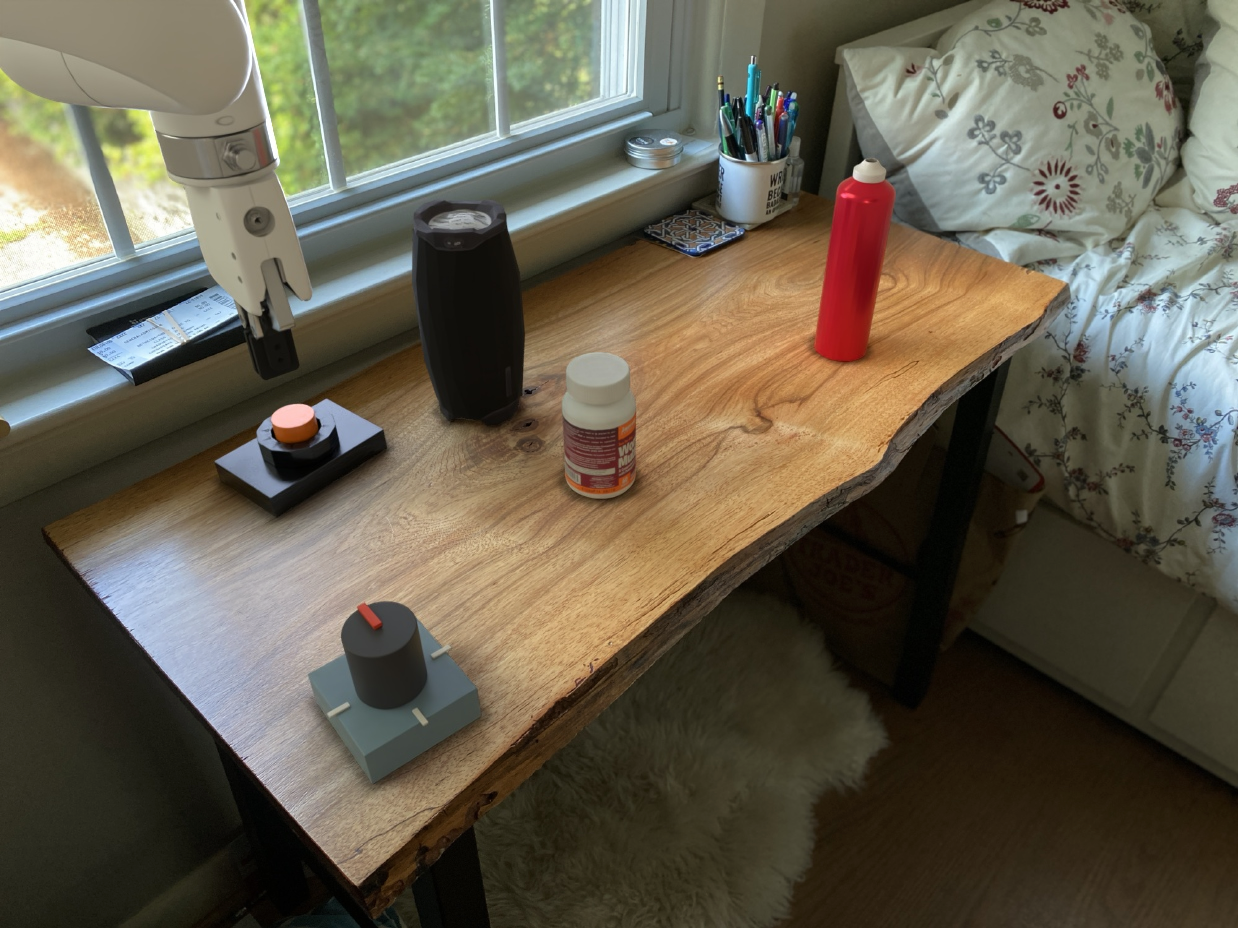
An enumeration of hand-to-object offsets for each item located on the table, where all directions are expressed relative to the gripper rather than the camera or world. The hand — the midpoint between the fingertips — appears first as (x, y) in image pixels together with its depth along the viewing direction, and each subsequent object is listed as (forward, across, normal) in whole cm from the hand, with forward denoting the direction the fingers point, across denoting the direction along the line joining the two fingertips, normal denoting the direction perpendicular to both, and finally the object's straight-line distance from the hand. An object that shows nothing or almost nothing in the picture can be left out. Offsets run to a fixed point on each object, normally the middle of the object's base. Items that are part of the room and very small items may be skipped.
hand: (277, 370), depth 76 cm
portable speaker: (+10, -2, -17) cm, 20 cm away
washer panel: (+10, -28, +6) cm, 31 cm away
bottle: (+10, -17, -52) cm, 56 cm away
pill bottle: (+10, -18, -19) cm, 28 cm away
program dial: (+7, -28, +6) cm, 30 cm away
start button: (+6, 0, 0) cm, 7 cm away
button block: (+10, 0, 0) cm, 10 cm away
